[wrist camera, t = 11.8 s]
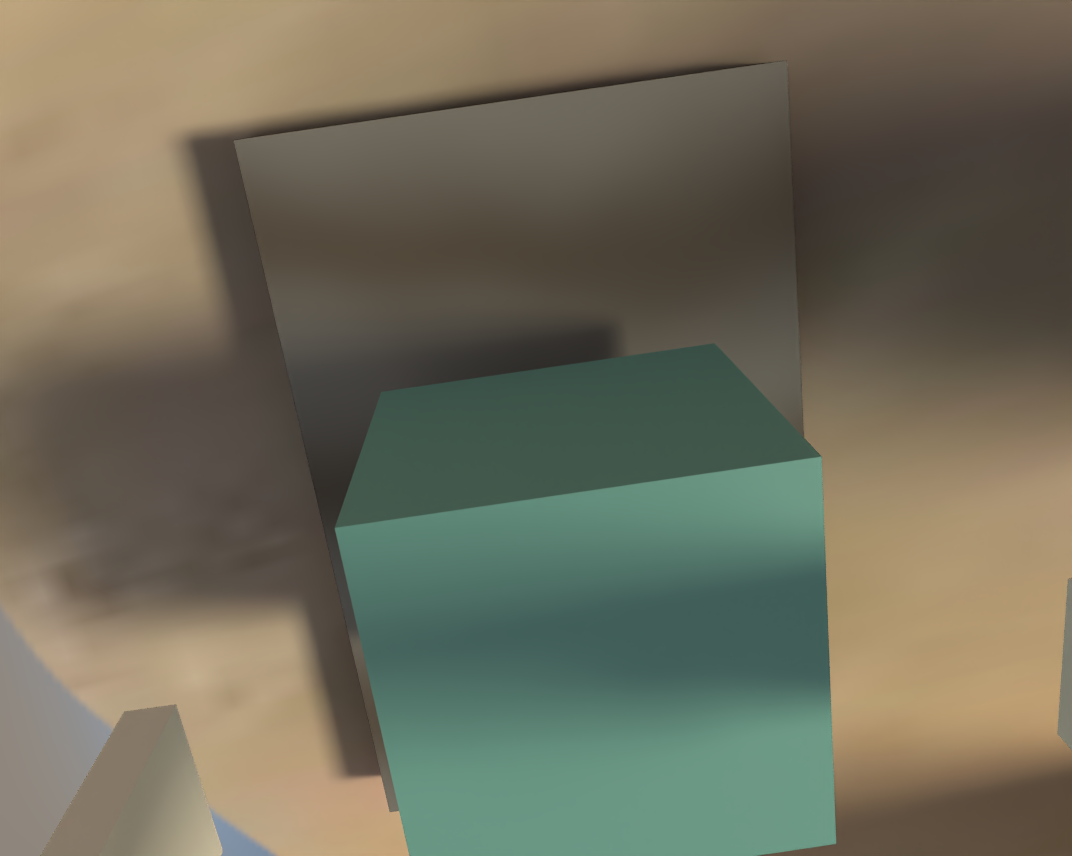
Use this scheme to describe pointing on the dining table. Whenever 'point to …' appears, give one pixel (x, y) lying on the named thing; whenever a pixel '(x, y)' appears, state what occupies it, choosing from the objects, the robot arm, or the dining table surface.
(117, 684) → the dining table surface
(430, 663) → the mint green cube
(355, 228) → the grey base with post
